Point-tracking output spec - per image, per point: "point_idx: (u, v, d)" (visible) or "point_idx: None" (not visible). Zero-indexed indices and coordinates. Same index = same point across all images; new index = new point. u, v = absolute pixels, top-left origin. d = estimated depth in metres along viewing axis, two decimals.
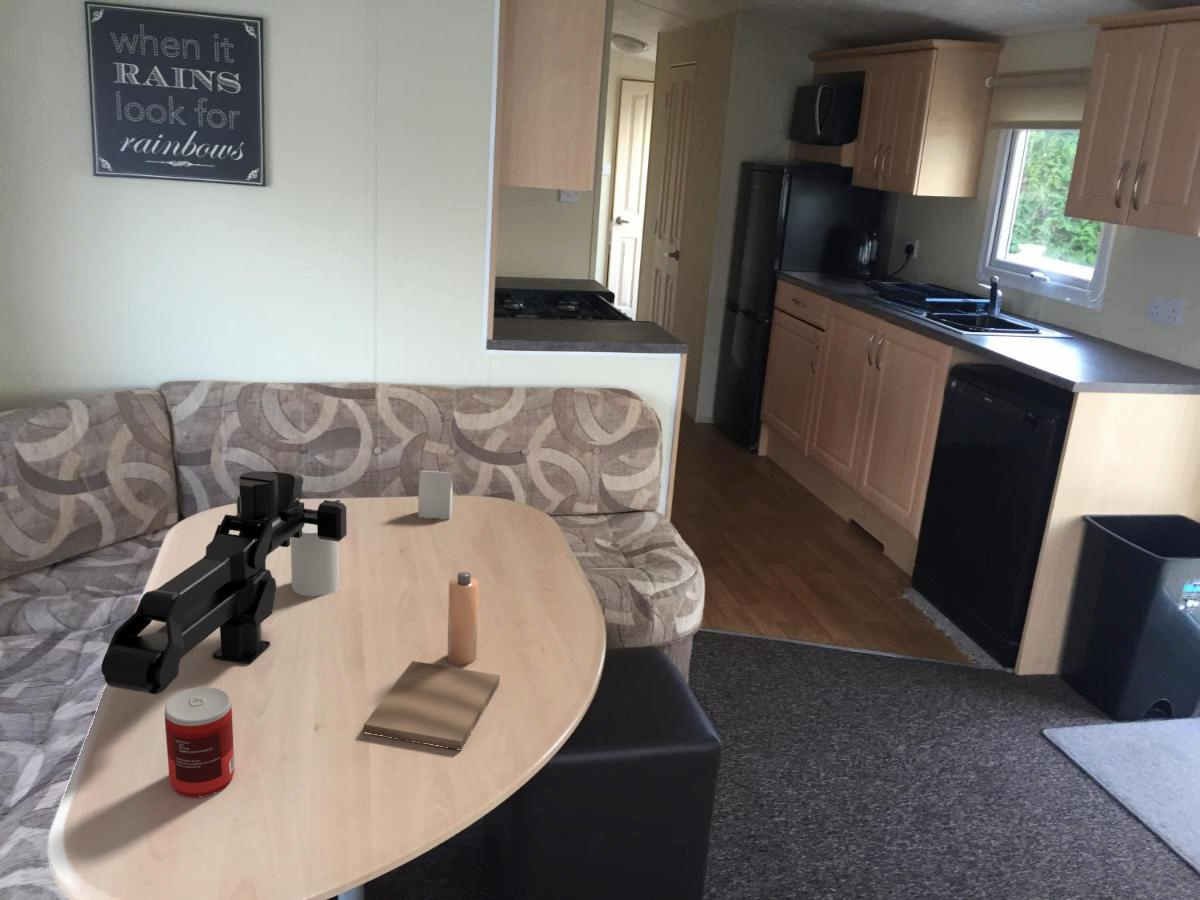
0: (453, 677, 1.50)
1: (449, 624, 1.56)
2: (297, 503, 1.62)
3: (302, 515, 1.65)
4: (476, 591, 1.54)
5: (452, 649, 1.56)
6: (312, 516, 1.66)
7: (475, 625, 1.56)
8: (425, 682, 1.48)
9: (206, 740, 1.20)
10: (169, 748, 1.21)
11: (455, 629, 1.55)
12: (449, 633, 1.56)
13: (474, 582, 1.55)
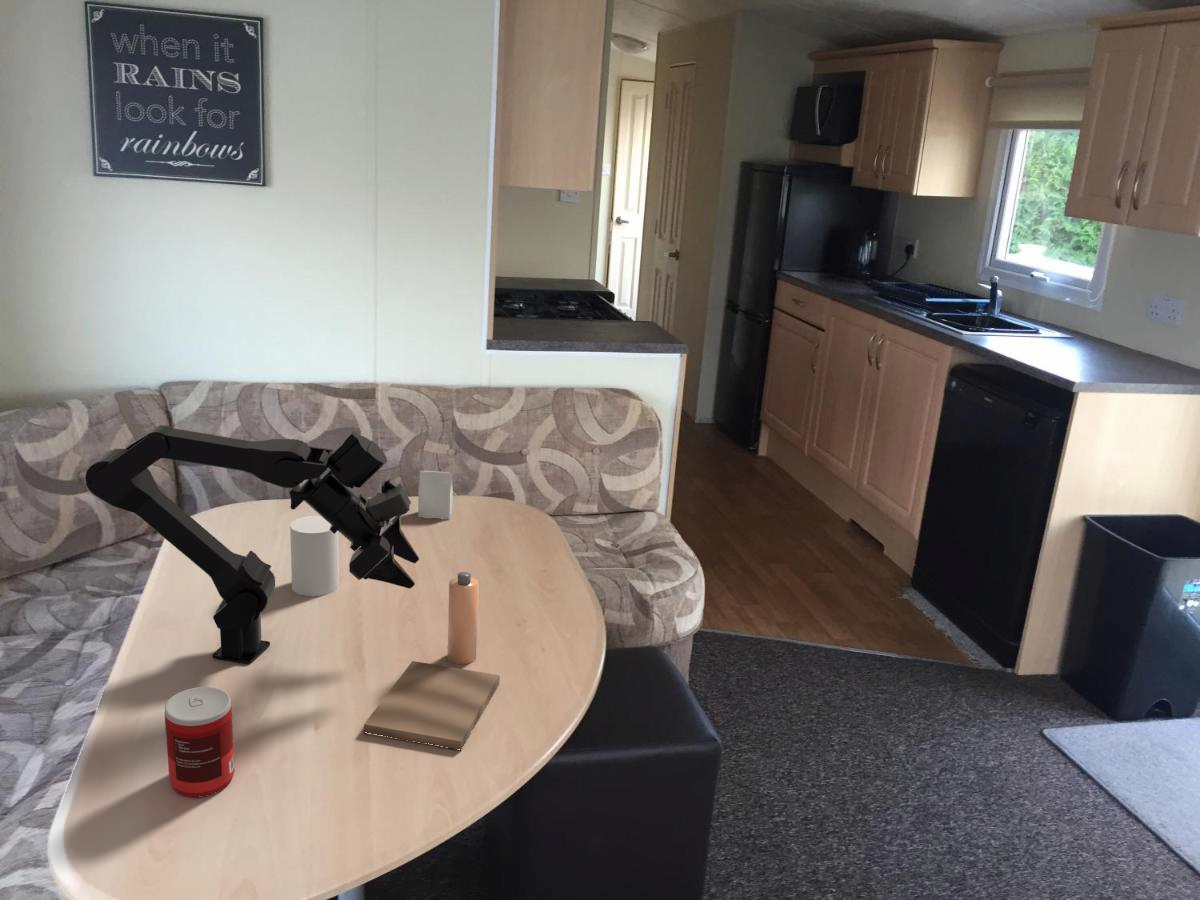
0: (453, 677, 1.50)
1: (449, 624, 1.56)
2: (375, 516, 1.48)
3: (370, 534, 1.49)
4: (476, 591, 1.54)
5: (452, 649, 1.56)
6: None
7: (475, 625, 1.56)
8: (425, 682, 1.48)
9: (206, 740, 1.20)
10: (169, 748, 1.21)
11: (455, 629, 1.55)
12: (449, 633, 1.56)
13: (474, 582, 1.55)
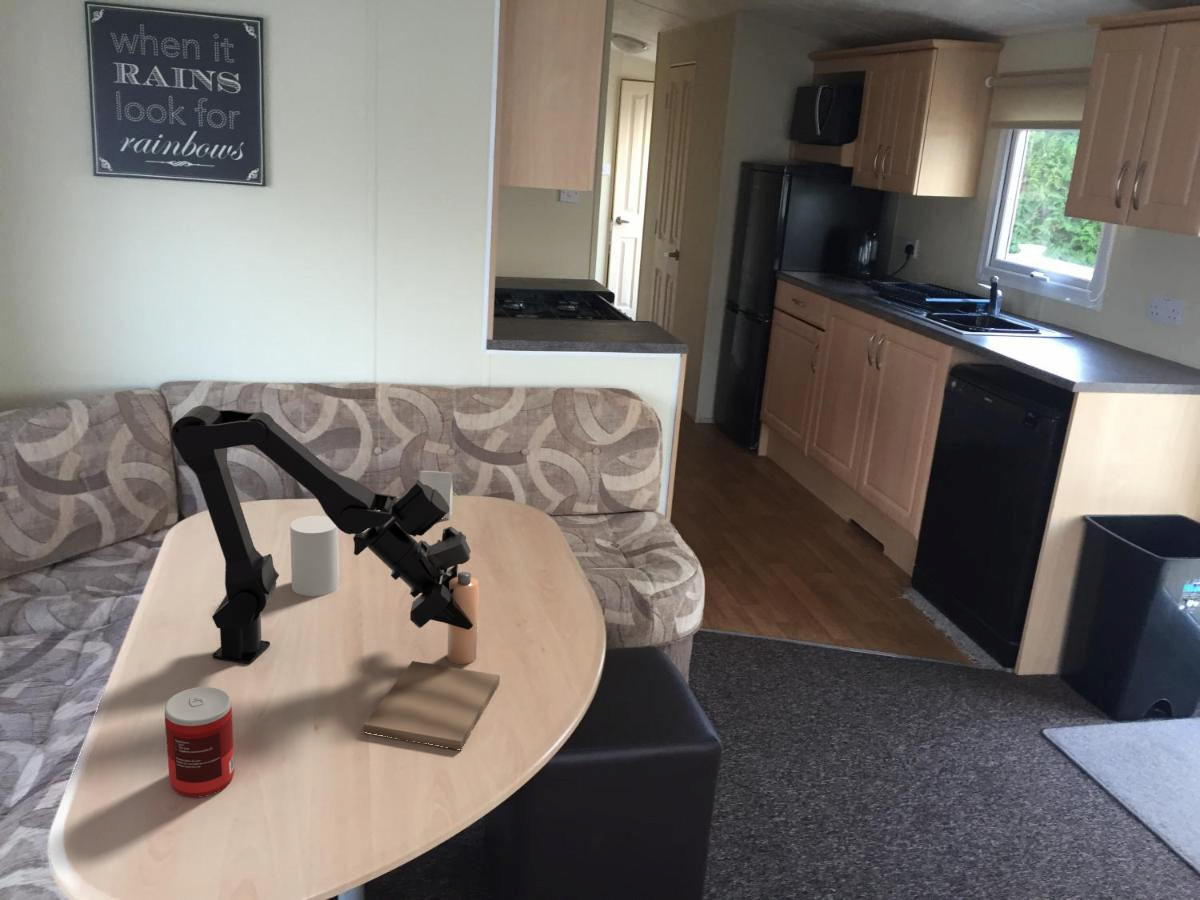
0: (453, 677, 1.50)
1: (449, 624, 1.56)
2: (436, 564, 1.51)
3: (431, 582, 1.51)
4: (476, 591, 1.54)
5: (452, 649, 1.56)
6: None
7: (475, 625, 1.56)
8: (425, 682, 1.48)
9: (206, 740, 1.20)
10: (169, 748, 1.21)
11: (455, 629, 1.55)
12: (449, 633, 1.56)
13: (474, 582, 1.55)
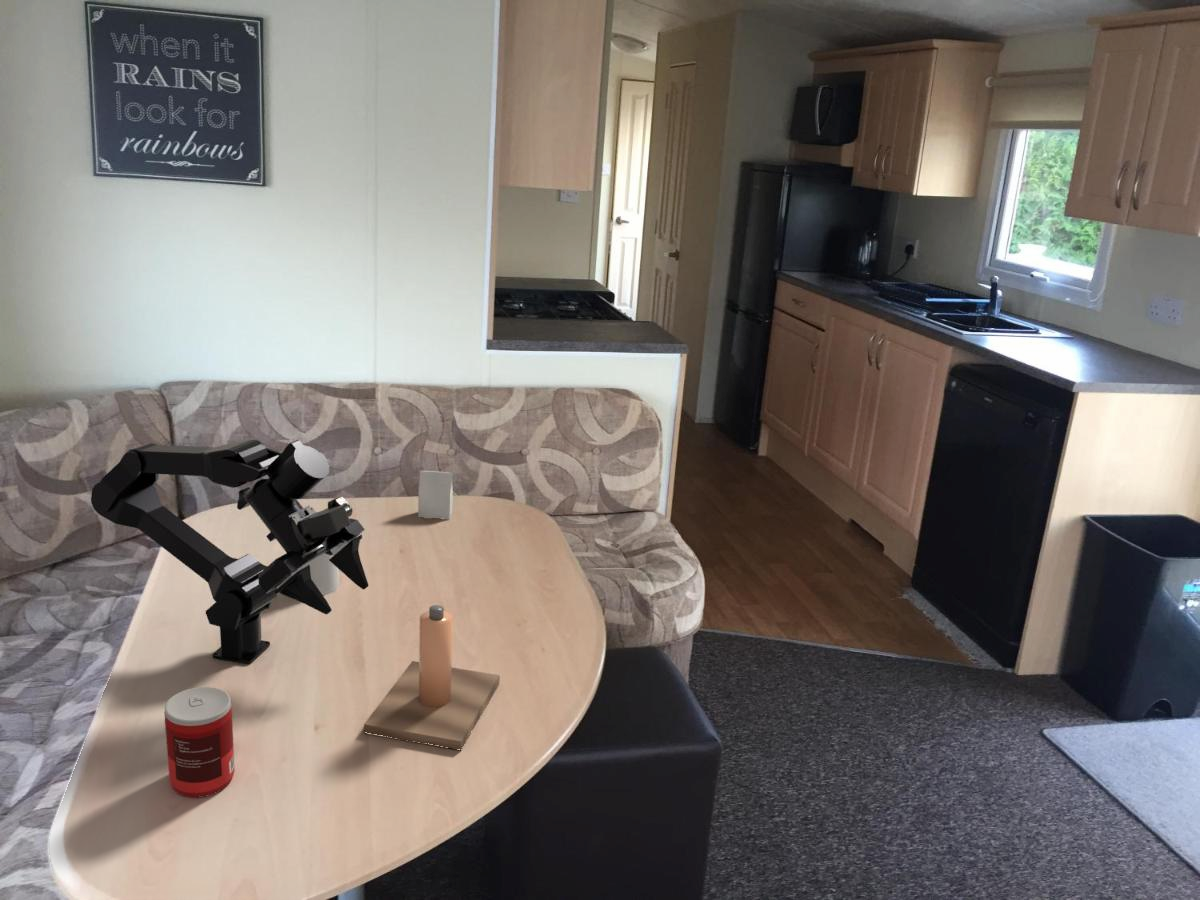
0: (453, 677, 1.50)
1: (419, 659, 1.42)
2: (303, 531, 1.41)
3: (299, 550, 1.43)
4: (444, 629, 1.39)
5: (419, 687, 1.42)
6: None
7: (444, 666, 1.40)
8: None
9: (206, 740, 1.20)
10: (169, 748, 1.21)
11: (422, 666, 1.41)
12: (419, 669, 1.42)
13: (447, 619, 1.40)
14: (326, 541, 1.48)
